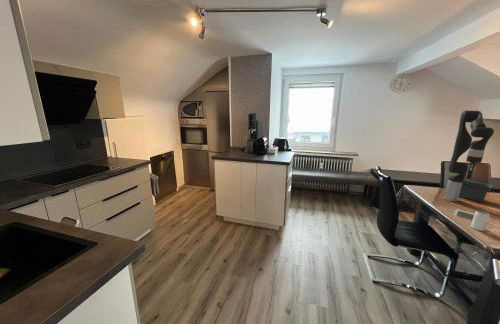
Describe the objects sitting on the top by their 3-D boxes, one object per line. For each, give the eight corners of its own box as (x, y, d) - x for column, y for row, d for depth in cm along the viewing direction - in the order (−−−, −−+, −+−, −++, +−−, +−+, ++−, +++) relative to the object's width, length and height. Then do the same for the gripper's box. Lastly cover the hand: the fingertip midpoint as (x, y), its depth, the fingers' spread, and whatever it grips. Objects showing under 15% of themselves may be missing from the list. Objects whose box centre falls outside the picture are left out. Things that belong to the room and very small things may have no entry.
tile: (458, 210, 155) (456, 213, 151) (475, 215, 148) (474, 218, 144) (457, 212, 155) (456, 215, 151) (474, 217, 149) (474, 220, 144)
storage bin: (451, 196, 187) (455, 181, 184) (454, 191, 197) (458, 177, 193) (486, 204, 171) (491, 188, 168) (487, 199, 181) (492, 184, 177)
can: (471, 228, 135) (476, 212, 132) (469, 224, 140) (474, 208, 137) (485, 232, 131) (491, 215, 128) (483, 228, 136) (489, 211, 133)
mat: (456, 209, 162) (456, 208, 161) (478, 215, 153) (478, 214, 152) (453, 216, 152) (453, 215, 151) (476, 222, 143) (477, 222, 143)
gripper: (468, 153, 153) (462, 175, 158) (466, 155, 145) (460, 179, 150) (483, 155, 148) (476, 178, 152) (482, 157, 140) (475, 182, 144)
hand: (468, 178), depth 151 cm, fingers closed
